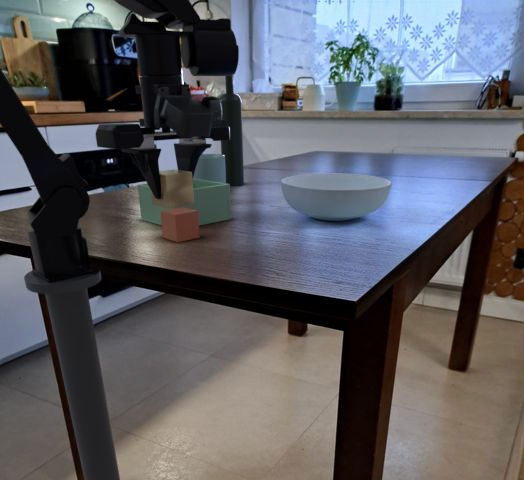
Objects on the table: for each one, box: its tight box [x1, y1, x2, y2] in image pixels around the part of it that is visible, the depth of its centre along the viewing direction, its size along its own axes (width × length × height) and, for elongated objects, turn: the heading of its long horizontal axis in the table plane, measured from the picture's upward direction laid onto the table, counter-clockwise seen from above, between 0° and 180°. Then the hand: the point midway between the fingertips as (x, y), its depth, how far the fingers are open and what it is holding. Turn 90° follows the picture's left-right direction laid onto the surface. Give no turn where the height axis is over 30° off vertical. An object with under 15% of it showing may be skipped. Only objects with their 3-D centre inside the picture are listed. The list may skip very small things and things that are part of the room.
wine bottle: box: [218, 75, 245, 187], centre depth 134 cm, size 6×6×30 cm
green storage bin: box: [136, 178, 232, 227], centre depth 100 cm, size 13×13×7 cm
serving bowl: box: [280, 172, 393, 222], centre depth 100 cm, size 21×21×7 cm
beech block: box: [151, 168, 194, 208], centre depth 75 cm, size 4×4×4 cm
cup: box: [193, 153, 226, 183], centre depth 115 cm, size 8×8×10 cm
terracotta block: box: [160, 207, 201, 243], centre depth 87 cm, size 4×4×4 cm
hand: (172, 196), depth 76 cm, fingers closed on beech block, 4 cm apart
